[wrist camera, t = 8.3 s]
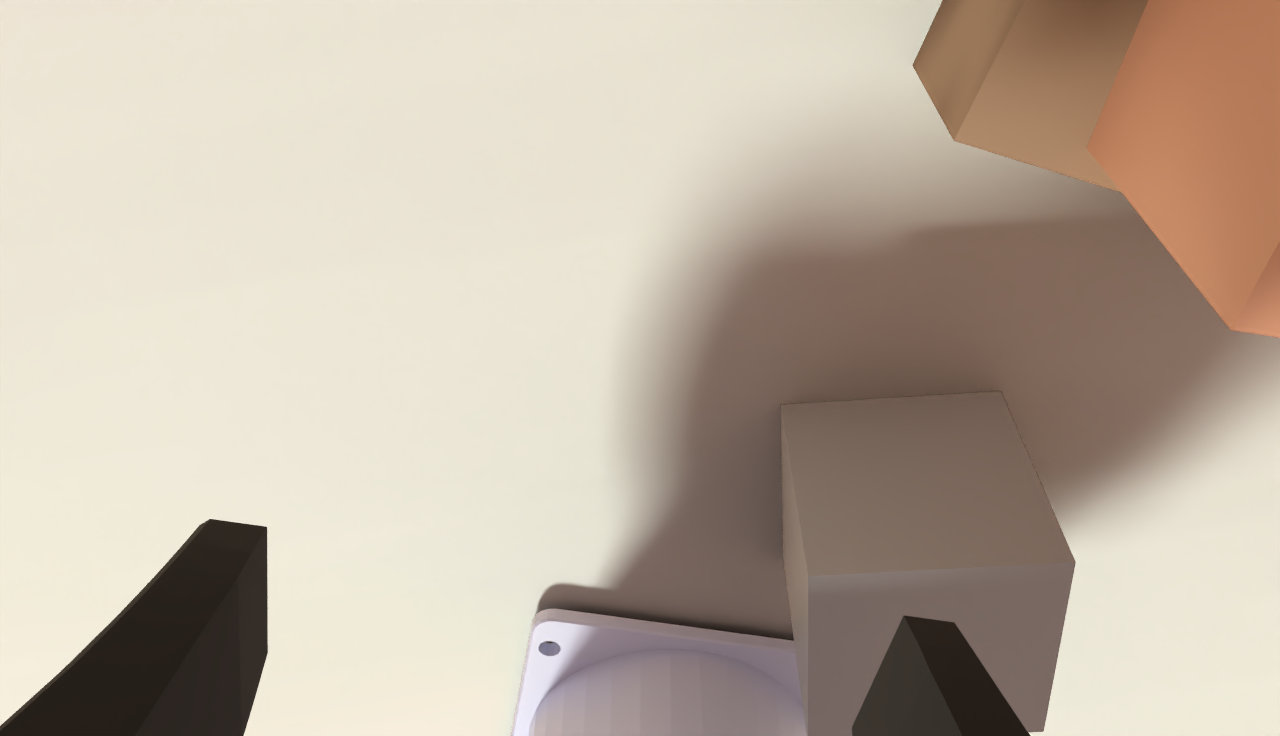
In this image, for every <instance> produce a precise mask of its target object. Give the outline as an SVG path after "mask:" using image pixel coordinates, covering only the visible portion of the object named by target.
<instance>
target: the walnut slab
mask: <svg viewBox="0 0 1280 736" xmlns="http://www.w3.org/2000/svg"><path fill="white" fill-rule="evenodd" d="M1147 3H1148V0H943V1H942V3H941V5H940V7H939V10H938V12H937V14H936V16H935V18H934V20H933V22H932V25H931V27H930V29H929V31H928V33H927V35H926V38H925V40H924V42H923V44H922V46H921V48H920V51H919V53H918V55H917V57H916V59H915V61H914V63H913V67H914V69H915V71H916V73H917V74H918V76H919V78H920V80H921V82H922V84H923V85H924V87H925V89H926V91H927V93H928V94H929V96H930V98H931V100H932V102H933V104H934V105H935V107H936V109H937V111H938V113H939V114H940V116H941V118H942V120H943V122H944V124H945V125H946V127H947V129H948V131H949V133H950V134H951V136H952V138H953V140H954V141H957V142H960V143H963V144H966V145H970V146H973V147H976V148H979V149H983V150H986V151H989V152H992V153H995V154H999V155H1002V156H1005V157H1008V158H1012V159H1015V160H1018V161H1021V162H1024V163H1028V164H1031V165H1034V166H1037V167H1040V168H1044V169H1047V170H1050V171H1053V172H1057V173H1060V174H1063V175H1066V176H1069V177H1073V178H1076V179H1079V180H1082V181H1086V182H1089V183H1092V184H1095V185H1098V186H1102V187H1105V188H1108V189H1111V190H1114V191H1118V192H1121V191H1120V190H1119V188H1118V187H1117V186H1116V185H1115V183H1114V182H1113V181H1112V180H1111V178H1110V177H1109V176H1108V174H1107V173H1106V172H1105V171H1104V169H1103V168H1102V167H1101V166H1100V164H1099V163H1098V162H1097V161H1096V159H1095V158H1094V157H1093V156H1092V154H1091V153H1090V152H1089V150H1088V149H1087V146H1088V143H1089V141H1090V139H1091V136H1092V134H1093V131H1094V129H1095V127H1096V124H1097V122H1098V119H1099V117H1100V115H1101V112H1102V110H1103V108H1104V105H1105V103H1106V100H1107V98H1108V96H1109V93H1110V91H1111V88H1112V86H1113V84H1114V81H1115V79H1116V76H1117V74H1118V72H1119V69H1120V67H1121V64H1122V62H1123V60H1124V57H1125V55H1126V53H1127V50H1128V48H1129V45H1130V43H1131V41H1132V38H1133V36H1134V33H1135V31H1136V29H1137V26H1138V24H1139V22H1140V19H1141V17H1142V14H1143V12H1144V10H1145V7H1146V5H1147ZM1121 193H1122V192H1121Z"/></svg>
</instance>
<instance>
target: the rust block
mask: <svg viewBox="0 0 1280 736" xmlns="http://www.w3.org/2000/svg"><path fill="white" fill-rule="evenodd" d="M1087 149H1088V150H1089V152H1090V153H1091V154H1092V156H1093V157H1094V158H1095V159H1096V161H1097V162H1098V163H1099V164H1100V166H1101V167H1102V168H1103V169H1104V171H1105V172H1106V173H1107V174H1108V176H1109V177H1110V178H1111V180H1112V181H1113V182H1114V183H1115V185H1116V186H1117V187H1118V188H1119V190H1120V191H1121V192H1122V193H1123V195H1124V196H1125V197H1126V198H1127V200H1128V201H1129V202H1130V204H1131V205H1132V206H1133V207H1134V209H1135V210H1136V211H1137V212H1138V214H1139V215H1140V216H1141V217H1142V219H1143V220H1144V221H1145V223H1146V224H1147V225H1148V226H1149V228H1150V229H1151V230H1152V231H1153V233H1154V234H1155V235H1156V236H1157V238H1158V239H1159V240H1160V241H1161V243H1162V244H1163V245H1164V247H1165V248H1166V249H1167V250H1168V252H1169V253H1170V254H1171V255H1172V257H1173V258H1174V259H1175V260H1176V262H1177V263H1178V264H1179V266H1180V267H1181V268H1182V269H1183V271H1184V272H1185V273H1186V274H1187V276H1188V277H1189V278H1190V279H1191V281H1192V282H1193V283H1194V284H1195V286H1196V287H1197V288H1198V290H1199V291H1200V292H1201V293H1202V295H1203V296H1204V297H1205V298H1206V300H1207V301H1208V302H1209V303H1210V305H1211V306H1212V307H1213V308H1214V310H1215V311H1216V312H1217V314H1218V315H1219V316H1220V317H1221V319H1222V320H1223V321H1224V322H1225V324H1226V325H1227V326H1228V327H1229V329H1230V330H1233V331H1239V332H1246V333H1253V334H1260V335H1266V336H1273V337H1280V0H1148V3H1147V5H1146V7H1145V10H1144V12H1143V14H1142V17H1141V19H1140V22H1139V24H1138V26H1137V29H1136V31H1135V33H1134V36H1133V38H1132V41H1131V43H1130V45H1129V48H1128V50H1127V53H1126V55H1125V57H1124V60H1123V62H1122V64H1121V67H1120V69H1119V72H1118V74H1117V76H1116V79H1115V81H1114V84H1113V86H1112V88H1111V91H1110V93H1109V96H1108V98H1107V100H1106V103H1105V105H1104V108H1103V110H1102V112H1101V115H1100V117H1099V119H1098V122H1097V124H1096V127H1095V129H1094V131H1093V134H1092V136H1091V139H1090V141H1089V143H1088V146H1087Z"/></svg>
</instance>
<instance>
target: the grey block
mask: <svg viewBox="0 0 1280 736" xmlns="http://www.w3.org/2000/svg"><path fill="white" fill-rule="evenodd" d="M781 448H782V515H783V563H784V571H785V578H786V585H787V593H788V600H789V608H790V615H791V622H792V630H793V637H794V645H795V652H796V659H797V667H798V674H799V681H800V689H801V696H802V704H803V711H804V718H805V726H806V733H807V736H852V726H853V724H854V722H855V719H856V717H857V715H858V713H859V711H860V709H861V706H862V704H863V702H864V700H865V698H866V696H867V693H868V691H869V689H870V687H871V685H872V683H873V680H874V678H875V676H876V674H877V672H878V670H879V667H880V665H881V663H882V661H883V659H884V657H885V654H886V652H887V650H888V648H889V646H890V644H891V641H892V639H893V637H894V635H895V633H896V631H897V628H898V626H899V624H900V622H901V620H902V618H903V615H905V616H912V617H920V618H927V619H934V620H941V621H948V622H955V624H956V625H957V627H958V628H959V630H960V631H961V633H962V634H963V636H964V637H965V639H966V640H967V642H968V643H969V645H970V646H971V648H972V649H973V651H974V652H975V654H976V655H977V657H978V658H979V660H980V661H981V663H982V664H983V666H984V667H985V669H986V670H987V672H988V673H989V675H990V676H991V678H992V679H993V681H994V682H995V684H996V685H997V687H998V688H999V690H1000V691H1001V693H1002V694H1003V696H1004V697H1005V699H1006V700H1007V702H1008V703H1009V705H1010V706H1011V708H1012V709H1013V711H1014V712H1015V714H1016V715H1017V717H1018V718H1019V720H1020V721H1021V723H1022V724H1023V726H1024V727H1025V729H1026V730H1027V732H1043V731H1044V726H1045V721H1046V716H1047V710H1048V705H1049V700H1050V694H1051V689H1052V684H1053V679H1054V673H1055V668H1056V663H1057V657H1058V652H1059V647H1060V642H1061V636H1062V631H1063V626H1064V620H1065V615H1066V610H1067V605H1068V599H1069V594H1070V589H1071V583H1072V578H1073V573H1074V567H1075V560H1074V557H1073V555H1072V553H1071V551H1070V548H1069V546H1068V544H1067V541H1066V539H1065V537H1064V535H1063V532H1062V530H1061V528H1060V525H1059V523H1058V521H1057V518H1056V516H1055V514H1054V512H1053V509H1052V507H1051V505H1050V502H1049V500H1048V498H1047V496H1046V493H1045V491H1044V489H1043V486H1042V484H1041V482H1040V480H1039V477H1038V475H1037V473H1036V470H1035V468H1034V466H1033V463H1032V461H1031V459H1030V457H1029V454H1028V452H1027V450H1026V447H1025V445H1024V443H1023V441H1022V438H1021V436H1020V434H1019V431H1018V429H1017V427H1016V424H1015V422H1014V420H1013V418H1012V415H1011V413H1010V411H1009V408H1008V406H1007V404H1006V402H1005V399H1004V397H1003V395H1002V392H1001V391H991V392H975V393H959V394H943V395H926V396H910V397H894V398H878V399H862V400H846V401H830V402H814V403H797V404H781Z"/></svg>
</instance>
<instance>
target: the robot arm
mask: <svg viewBox="0 0 1280 736" xmlns="http://www.w3.org/2000/svg"><path fill="white" fill-rule="evenodd" d="M545 641H553V642H556V643H547V642H545ZM267 653H268V645H267V527H264V526H257V525H249V524H242V523H235V522H228V521H220V520H213V519H209V520H208V521H206V522H204V523H203V524H201V525H200V526H199V527H198V528H197V529H196V530H195V531H194V533H193V534H192V535H191V536H190V537H189V538H188V540H187V541H186V542H185V543H184V544H183V545H182V547H181V548H180V549H179V550H178V551H177V552H176V553H175V554H174V556H173V557H172V558H171V559H170V560H169V561H168V562H167V563H166V565H165V566H164V567H163V568H162V569H161V570H160V571H159V572H158V573H157V574H156V576H155V577H154V578H153V579H152V580H151V581H150V582H149V583H148V584H147V585H146V586H145V587H144V588H143V590H142V591H141V592H140V593H139V594H138V595H137V596H136V597H135V598H134V599H133V600H132V601H131V602H130V603H129V604H128V605H127V606H126V607H125V608H124V610H123V611H122V612H121V613H120V614H119V615H118V616H117V617H116V618H115V619H114V620H113V621H112V622H111V623H110V624H109V625H108V626H107V627H106V628H105V629H104V630H103V631H102V632H101V633H100V634H99V635H98V636H96V637H95V638H94V639H93V640H92V641H91V642H90V643H89V644H88V645H87V646H86V647H85V648H84V649H83V650H82V651H81V652H80V653H79V654H78V655H77V656H76V657H75V658H74V659H73V660H72V661H71V662H70V663H69V664H68V665H67V666H66V667H65V668H64V669H63V670H62V671H61V672H60V673H59V674H58V675H56V676H55V677H54V678H53V679H52V680H51V681H50V682H49V683H48V684H47V685H45V686H44V687H43V688H42V689H41V690H40V691H39V692H38V693H37V694H35V695H34V696H33V697H32V698H31V699H30V700H29V701H28V702H26V703H25V704H24V705H23V706H22V707H21V708H20V709H19V710H18V711H16V712H15V713H14V714H13V715H12V716H11V717H10V718H9V719H8V720H6V721H5V722H4V723H3V724H2V725H1V726H0V736H243V735H244V732H245V729H246V725H247V722H248V719H249V715H250V712H251V709H252V705H253V702H254V699H255V695H256V692H257V688H258V685H259V681H260V678H261V674H262V670H263V667H264V663H265V660H266V656H267ZM511 736H807V733H806V726H805V718H804V711H803V704H802V696H801V689H800V681H799V674H798V667H797V659H796V652H795V645H794V641H792V640H785V639H778V638H770V637H763V636H755V635H748V634H741V633H733V632H726V631H718V630H711V629H704V628H696V627H689V626H681V625H674V624H667V623H659V622H652V621H645V620H637V619H630V618H622V617H615V616H608V615H600V614H593V613H585V612H578V611H571V610H563V609H546V610H542V611H540V612H539V613H537V614H536V615H535V617H534V619H533V621H532V626H531V632H530V637H529V642H528V647H527V653H526V658H525V663H524V668H523V674H522V679H521V684H520V689H519V695H518V700H517V705H516V710H515V715H514V721H513V726H512V731H511ZM852 736H1030V735H1029V733H1028V732H1027V730H1026V729H1025V727H1024V726H1023V724H1022V723H1021V721H1020V720H1019V718H1018V717H1017V715H1016V714H1015V712H1014V711H1013V709H1012V708H1011V706H1010V705H1009V703H1008V702H1007V700H1006V699H1005V697H1004V696H1003V694H1002V693H1001V691H1000V690H999V688H998V687H997V685H996V684H995V682H994V681H993V679H992V678H991V676H990V675H989V673H988V672H987V670H986V669H985V667H984V666H983V664H982V663H981V661H980V660H979V658H978V657H977V655H976V654H975V652H974V651H973V649H972V648H971V646H970V645H969V643H968V642H967V640H966V639H965V637H964V636H963V634H962V633H961V631H960V630H959V628H958V627H957V625H956V624H955V622H948V621H941V620H934V619H927V618H920V617H912V616H905V615H903V618H902V620H901V622H900V624H899V626H898V628H897V631H896V633H895V635H894V637H893V639H892V641H891V644H890V646H889V648H888V650H887V652H886V654H885V657H884V659H883V661H882V663H881V665H880V667H879V670H878V672H877V674H876V676H875V678H874V680H873V683H872V685H871V687H870V689H869V691H868V693H867V696H866V698H865V700H864V702H863V704H862V706H861V709H860V711H859V713H858V715H857V717H856V719H855V722H854V724H853V726H852Z"/></svg>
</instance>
